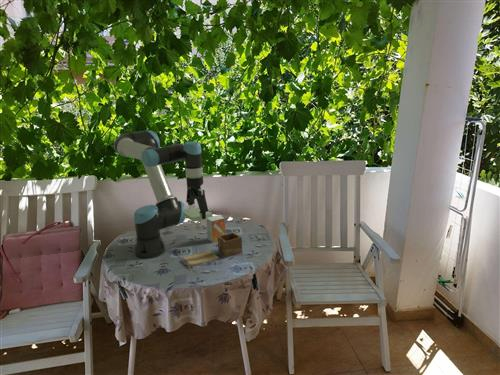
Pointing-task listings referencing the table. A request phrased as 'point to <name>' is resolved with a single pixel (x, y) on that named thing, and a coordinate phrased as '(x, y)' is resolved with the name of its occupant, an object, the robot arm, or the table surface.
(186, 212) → the lid
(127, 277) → the table surface
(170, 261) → the table surface
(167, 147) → the robot arm
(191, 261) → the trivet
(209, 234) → the small box
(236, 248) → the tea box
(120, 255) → the table surface
